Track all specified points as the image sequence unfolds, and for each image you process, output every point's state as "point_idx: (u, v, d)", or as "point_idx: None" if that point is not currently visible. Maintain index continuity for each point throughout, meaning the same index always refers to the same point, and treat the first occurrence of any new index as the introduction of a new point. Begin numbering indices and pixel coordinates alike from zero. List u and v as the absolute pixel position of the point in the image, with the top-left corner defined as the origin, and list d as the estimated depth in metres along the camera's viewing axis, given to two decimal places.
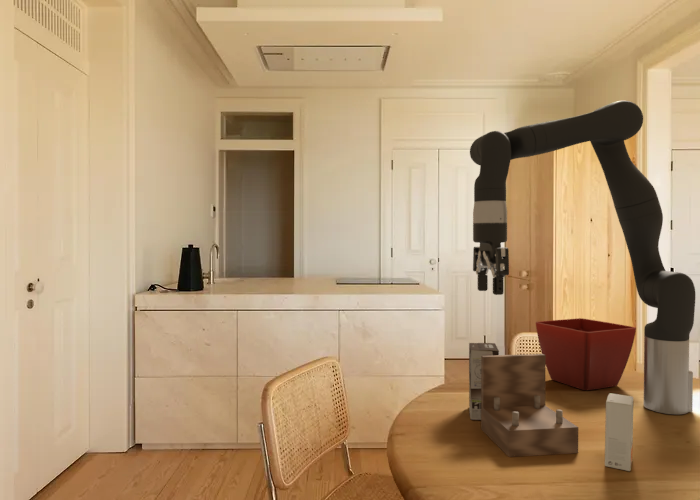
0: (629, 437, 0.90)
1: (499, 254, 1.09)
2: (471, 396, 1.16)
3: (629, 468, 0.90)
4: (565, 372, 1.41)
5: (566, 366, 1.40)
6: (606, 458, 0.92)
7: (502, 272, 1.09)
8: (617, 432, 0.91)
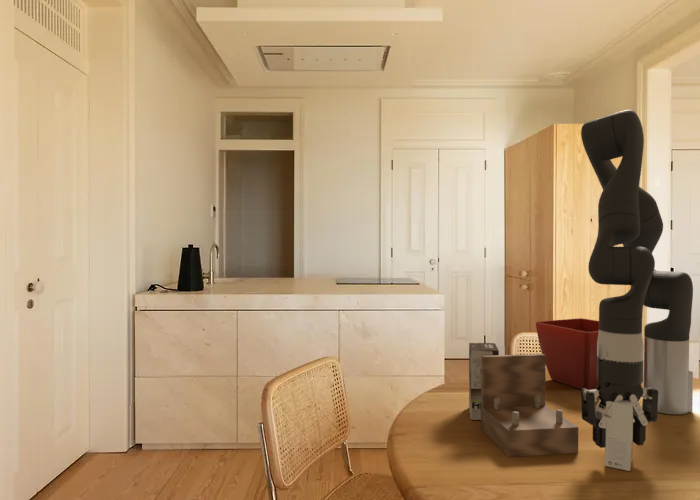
0: (629, 437, 0.90)
1: None
2: (471, 396, 1.16)
3: (629, 468, 0.90)
4: (565, 372, 1.41)
5: (566, 366, 1.40)
6: (606, 458, 0.92)
7: None
8: (618, 432, 0.91)
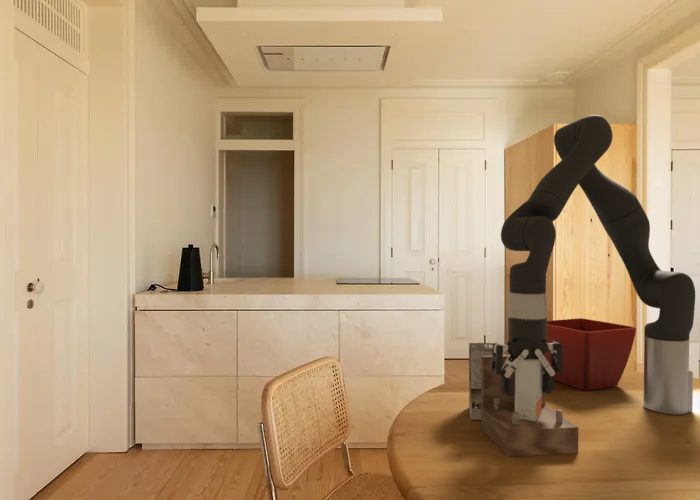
0: (534, 391, 1.00)
1: None
2: (471, 396, 1.16)
3: (534, 419, 1.00)
4: (565, 372, 1.41)
5: (566, 366, 1.40)
6: None
7: None
8: (525, 387, 1.01)
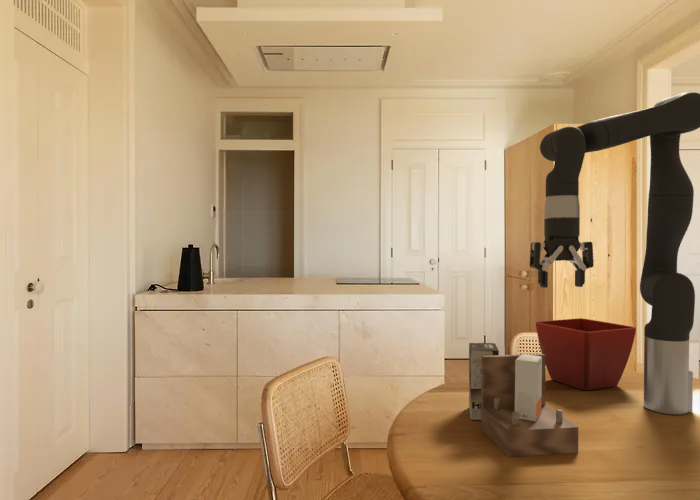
0: (534, 391, 1.00)
1: None
2: (471, 396, 1.16)
3: (534, 419, 1.00)
4: (565, 372, 1.41)
5: (566, 366, 1.40)
6: None
7: None
8: (525, 387, 1.01)
